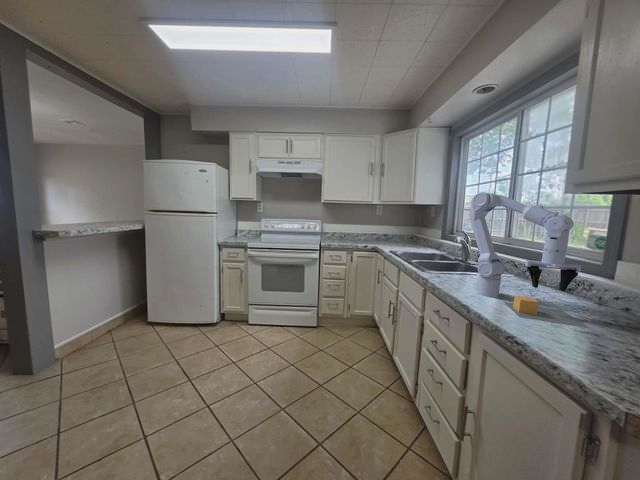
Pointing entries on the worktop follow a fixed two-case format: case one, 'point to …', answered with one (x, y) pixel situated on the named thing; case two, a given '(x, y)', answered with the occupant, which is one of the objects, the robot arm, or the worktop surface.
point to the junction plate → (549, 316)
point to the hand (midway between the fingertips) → (548, 288)
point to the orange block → (525, 305)
